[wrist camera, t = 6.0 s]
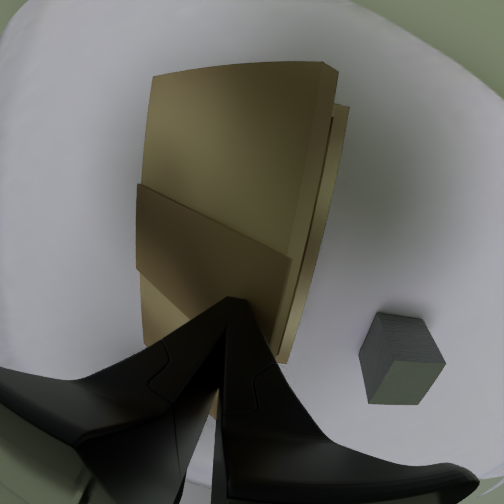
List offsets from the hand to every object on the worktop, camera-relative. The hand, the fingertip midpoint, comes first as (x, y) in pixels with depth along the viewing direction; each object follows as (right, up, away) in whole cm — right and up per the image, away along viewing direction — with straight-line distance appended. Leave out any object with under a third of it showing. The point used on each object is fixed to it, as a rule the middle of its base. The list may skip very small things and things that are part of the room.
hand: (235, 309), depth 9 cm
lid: (-1, +1, +2) cm, 3 cm away
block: (+11, -5, +11) cm, 16 cm away
